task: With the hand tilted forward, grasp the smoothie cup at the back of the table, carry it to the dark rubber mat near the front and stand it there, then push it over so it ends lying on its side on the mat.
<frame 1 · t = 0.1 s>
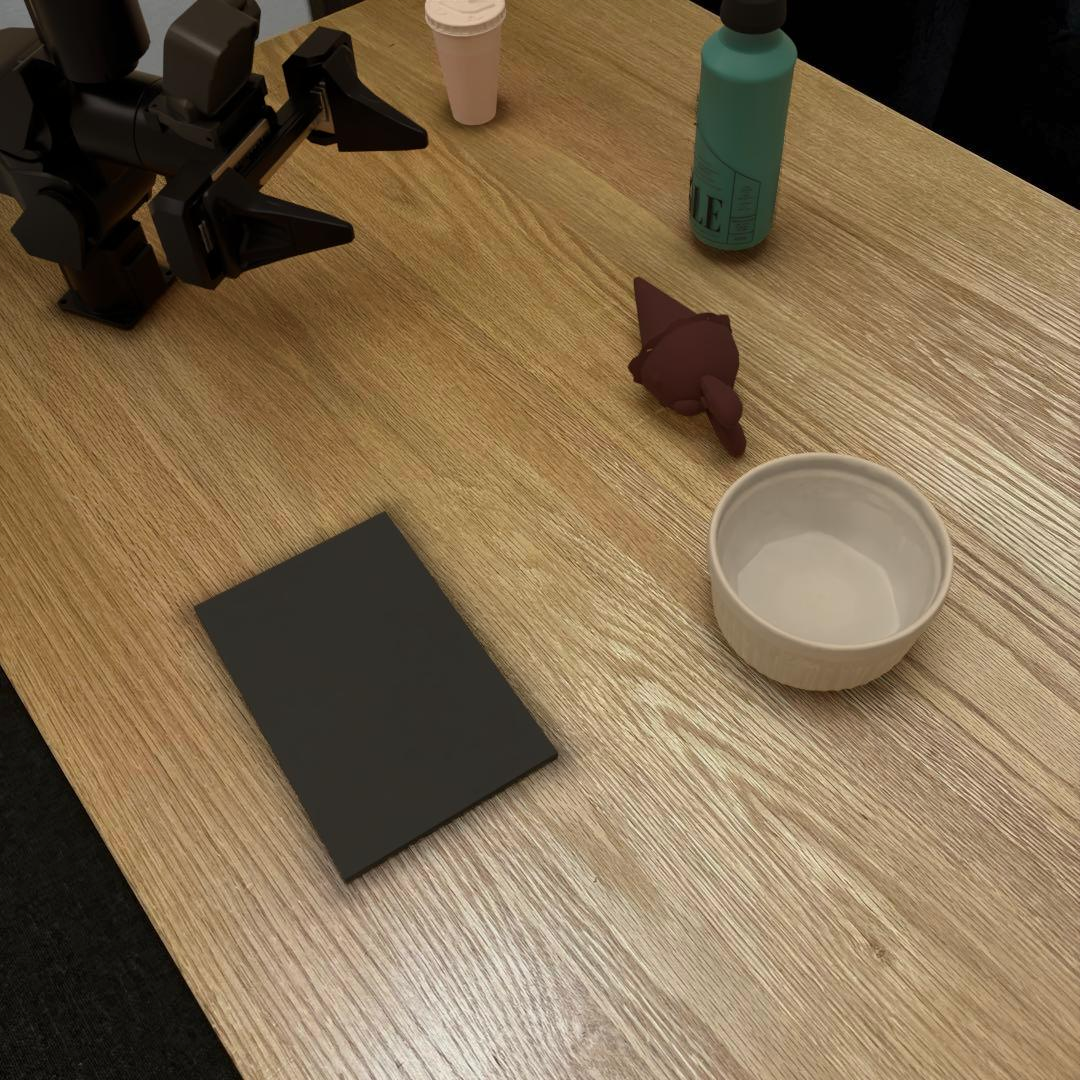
hand: (391, 184, 69), 17 cm above the table, tool horizontal, fingers open, 9 cm apart
smoothie: (474, 114, 101), on the table
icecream: (681, 393, 81), on the table
beverage bottle: (727, 242, 90), on the table
ramekin: (810, 615, 70), on the table
mat: (368, 681, 68), on the table
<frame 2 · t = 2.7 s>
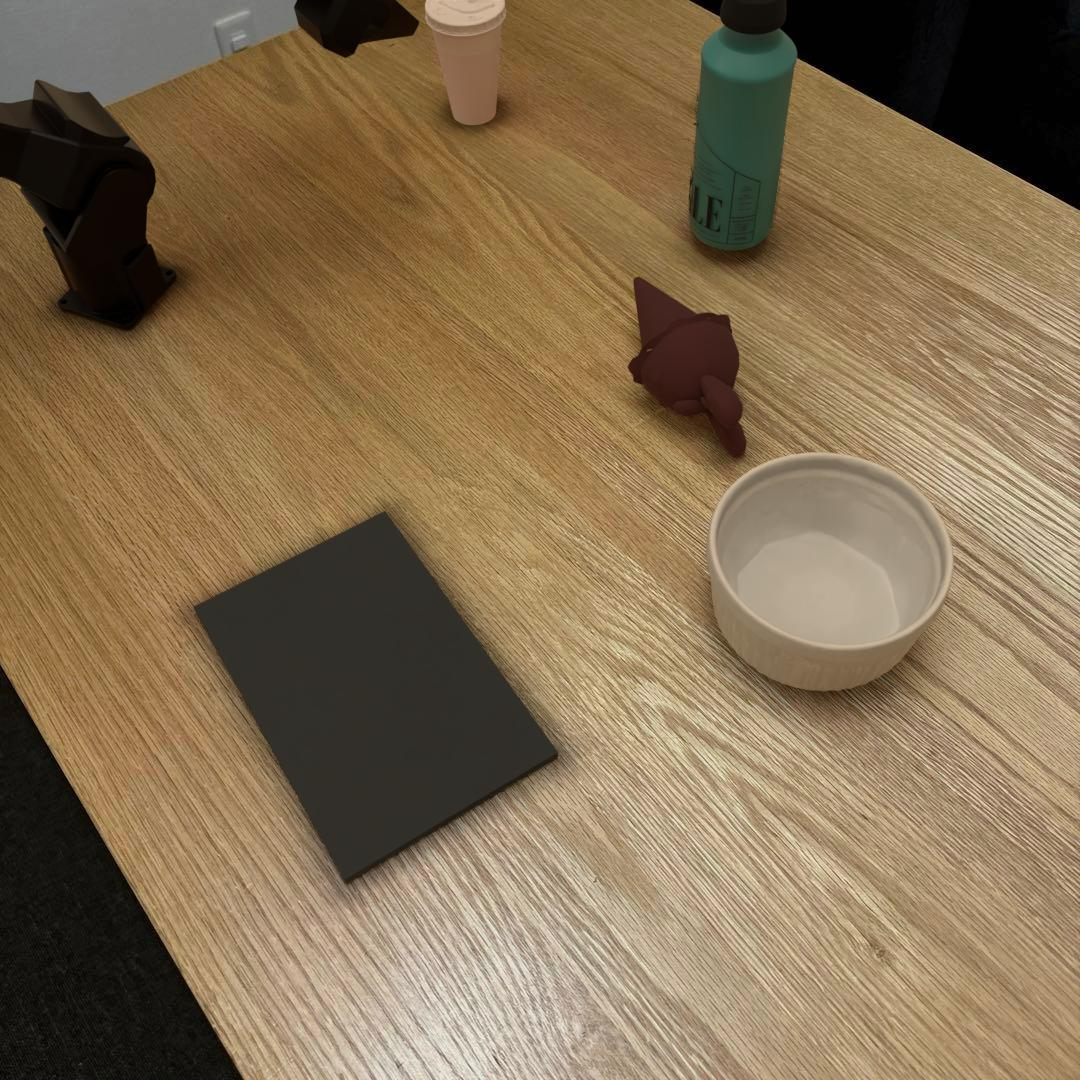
hand: (381, 0, 85), 14 cm above the table, tool tilted 50°, fingers open, 9 cm apart
nothing on the table moved.
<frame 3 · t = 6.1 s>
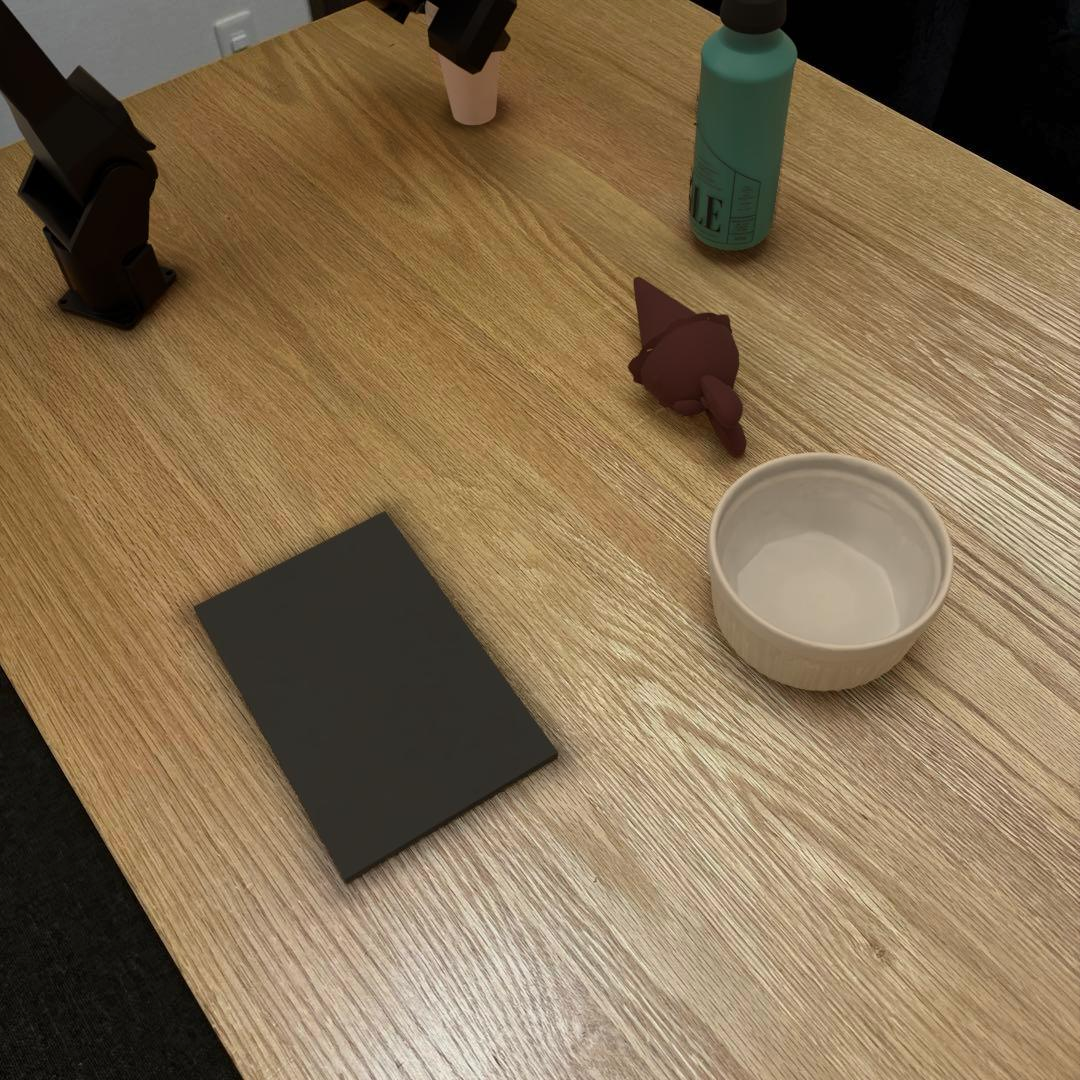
hand: (481, 27, 95), 7 cm above the table, tool tilted 45°, fingers closed on smoothie, 6 cm apart
smoothie: (474, 114, 101), on the table, touching gripper
everything else where it was.
when the fingers open (8 cm above the table, at t = 16.2 s): smoothie stays where it is, resting on mat.
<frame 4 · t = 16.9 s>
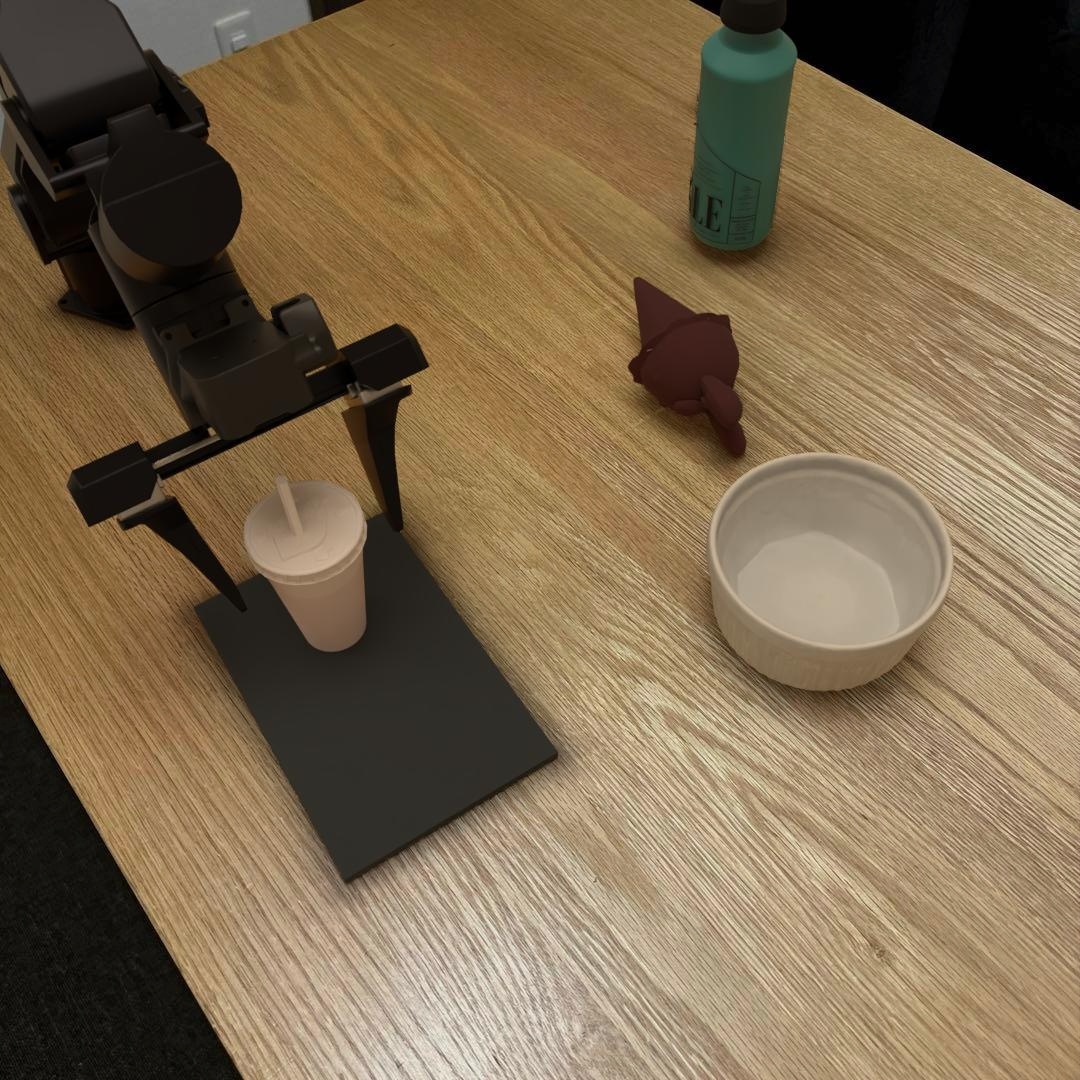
hand: (323, 570, 63), 8 cm above the table, tool tilted 45°, fingers open, 9 cm apart
smoothie: (335, 626, 70), resting on mat
everything else where it was.
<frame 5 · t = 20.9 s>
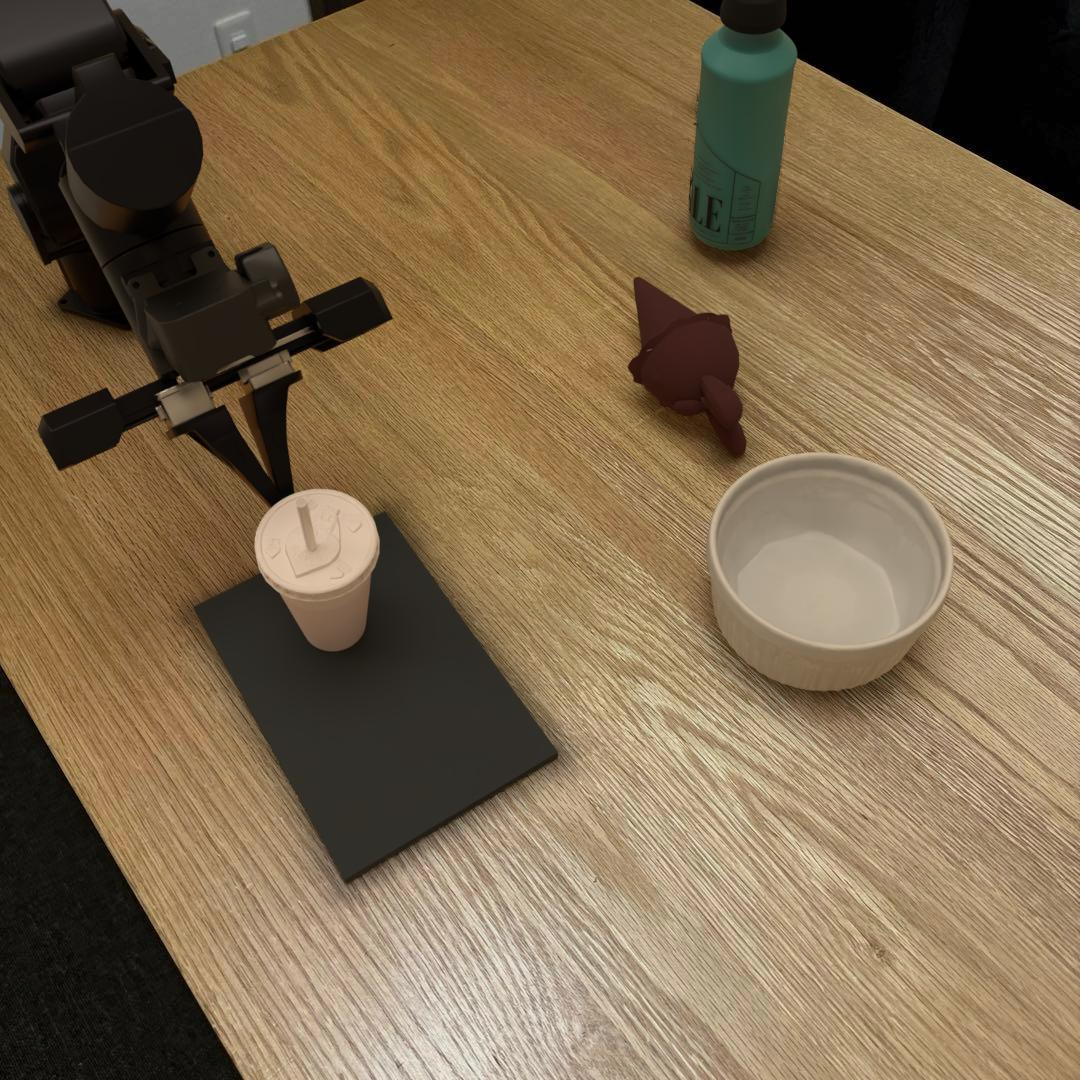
hand: (290, 518, 65), 8 cm above the table, tool tilted 45°, fingers closed
smoothie: (334, 624, 70), point 1 cm above the table, touching gripper, mat
everything else where it was.
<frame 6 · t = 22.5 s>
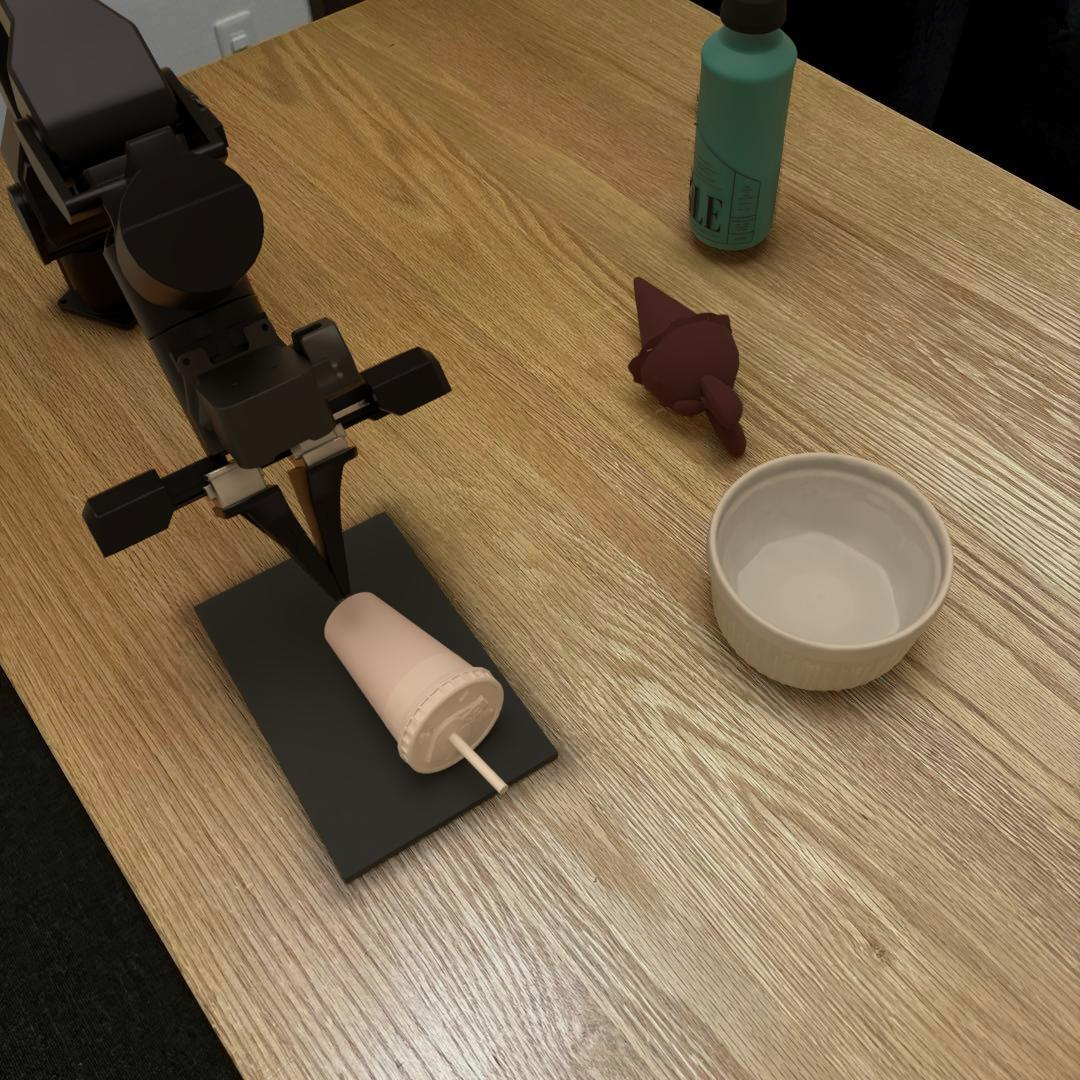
hand: (343, 598, 62), 8 cm above the table, tool tilted 45°, fingers closed
smoothie: (350, 617, 67), point 3 cm above the table, touching mat
everything else where it was.
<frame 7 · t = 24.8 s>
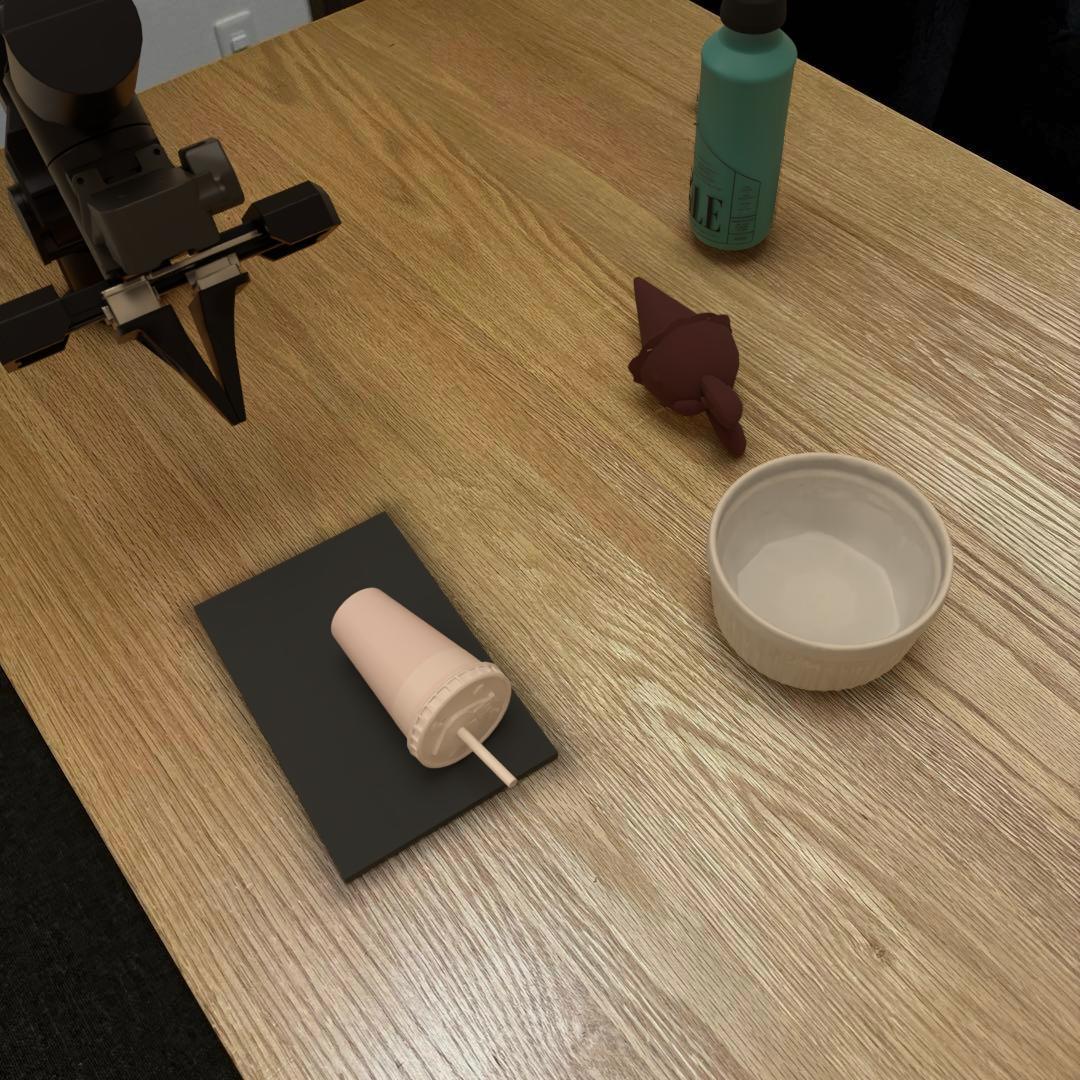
hand: (239, 423, 65), 11 cm above the table, tool tilted 45°, fingers closed
nothing on the table moved.
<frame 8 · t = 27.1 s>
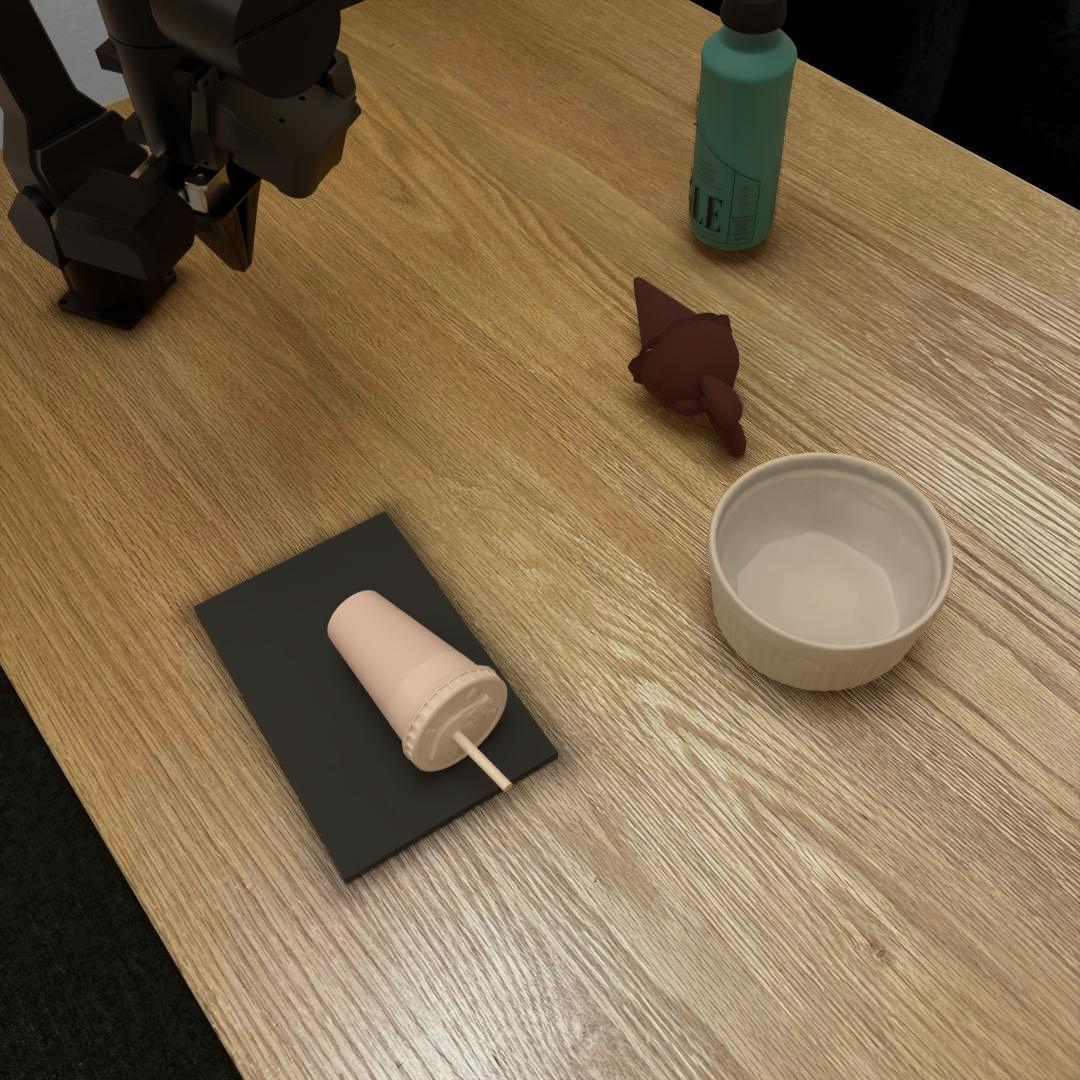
hand: (241, 267, 70), 13 cm above the table, tool pointing down, fingers closed
nothing on the table moved.
at the end: smoothie tilted 86°; smoothie 2.5 cm from the mat (horizontally); smoothie touching mat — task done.
